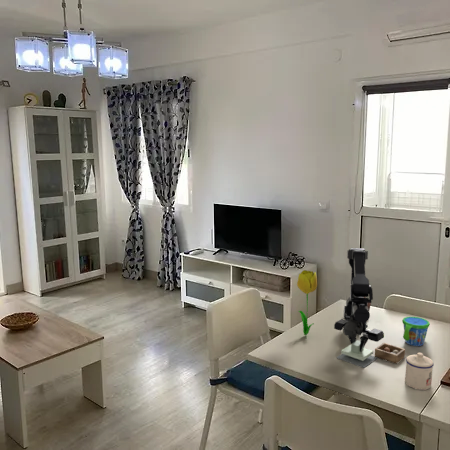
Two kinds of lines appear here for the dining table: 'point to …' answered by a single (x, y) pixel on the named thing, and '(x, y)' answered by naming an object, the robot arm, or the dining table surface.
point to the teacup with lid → (419, 371)
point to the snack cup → (415, 330)
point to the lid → (357, 351)
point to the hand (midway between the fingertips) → (357, 350)
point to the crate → (390, 353)
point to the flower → (306, 285)
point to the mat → (357, 360)
